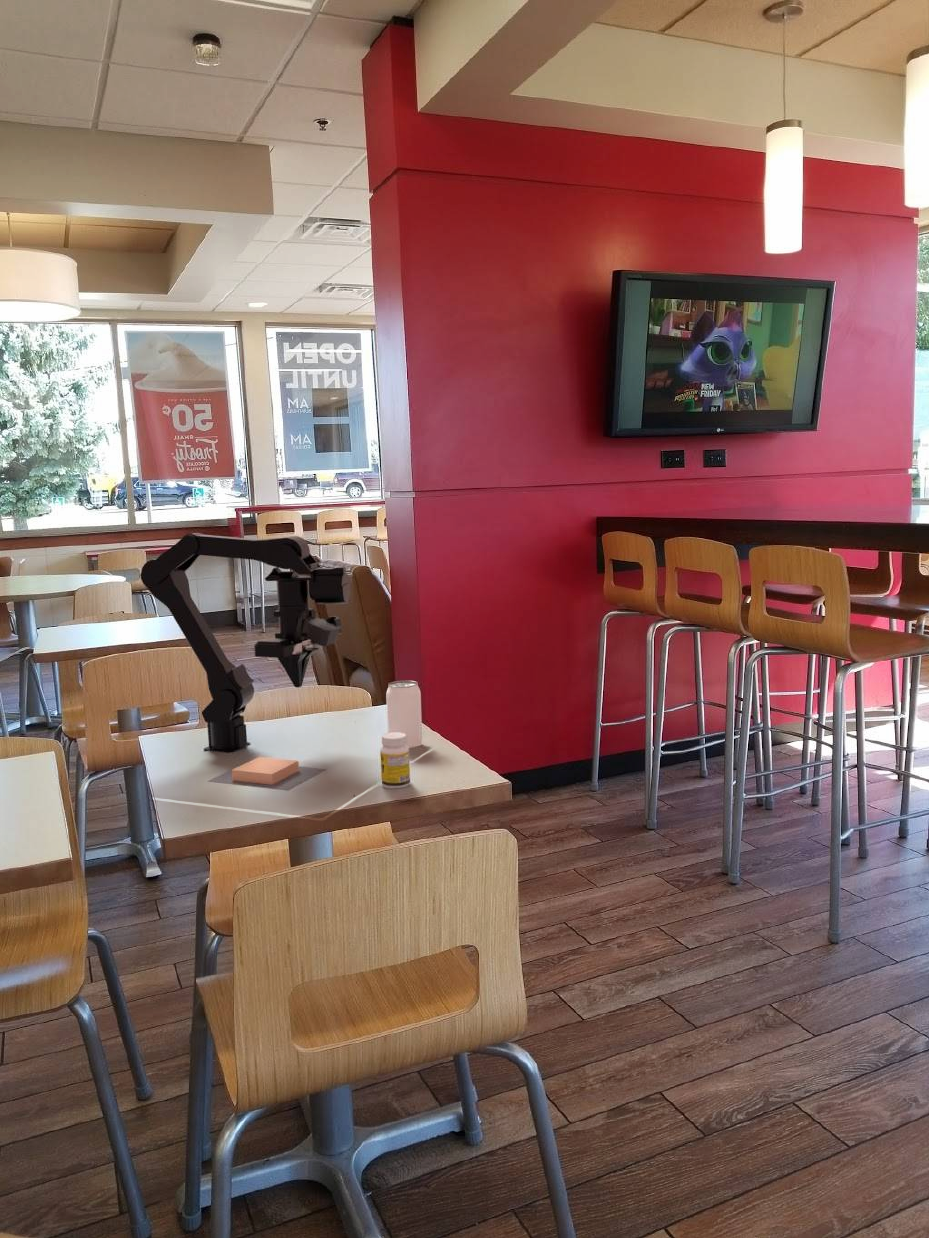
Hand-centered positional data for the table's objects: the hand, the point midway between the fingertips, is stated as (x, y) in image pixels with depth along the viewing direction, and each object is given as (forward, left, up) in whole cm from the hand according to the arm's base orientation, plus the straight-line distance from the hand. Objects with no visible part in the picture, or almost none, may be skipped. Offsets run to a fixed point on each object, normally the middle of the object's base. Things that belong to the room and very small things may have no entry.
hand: (298, 687), depth 176 cm
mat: (+4, -17, -12) cm, 21 cm away
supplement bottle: (+27, -14, -12) cm, 33 cm away
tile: (+4, -14, -11) cm, 18 cm away
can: (+18, +8, -12) cm, 23 cm away
